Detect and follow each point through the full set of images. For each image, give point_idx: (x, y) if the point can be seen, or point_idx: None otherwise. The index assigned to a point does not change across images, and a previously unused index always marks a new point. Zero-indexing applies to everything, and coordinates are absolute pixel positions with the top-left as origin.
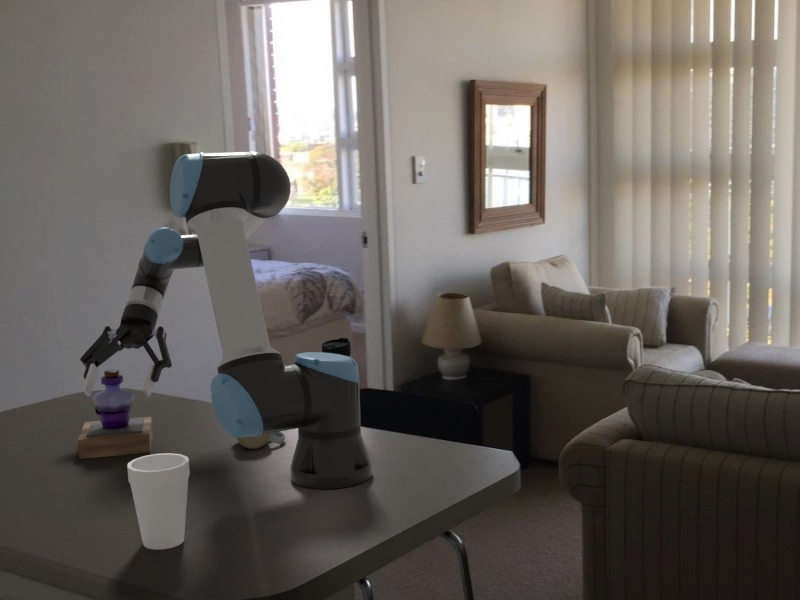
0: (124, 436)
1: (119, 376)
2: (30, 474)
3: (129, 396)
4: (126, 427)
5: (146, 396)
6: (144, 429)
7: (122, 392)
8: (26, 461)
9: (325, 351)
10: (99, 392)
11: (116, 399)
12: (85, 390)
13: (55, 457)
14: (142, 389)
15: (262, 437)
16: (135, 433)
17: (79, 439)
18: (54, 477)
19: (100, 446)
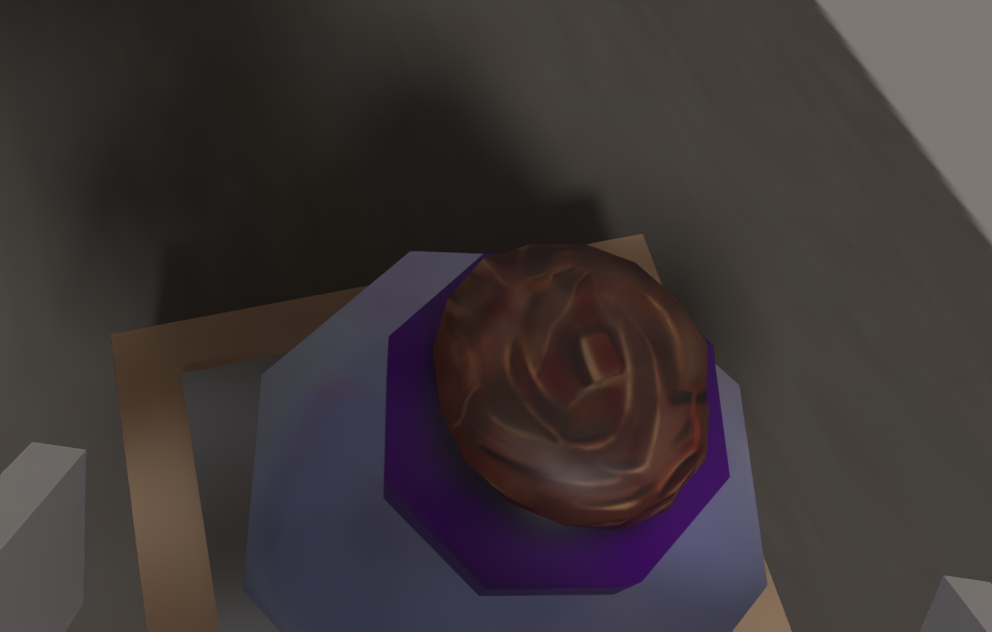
0: (312, 297)
1: (429, 416)
2: (753, 71)
3: (265, 378)
4: None
5: (79, 589)
6: (176, 469)
7: (368, 411)
8: (908, 279)
9: None
10: (719, 529)
11: (398, 272)
12: (940, 591)
13: (777, 339)
14: (77, 457)
15: None
16: (233, 353)
17: (633, 240)
18: (602, 16)
19: None
